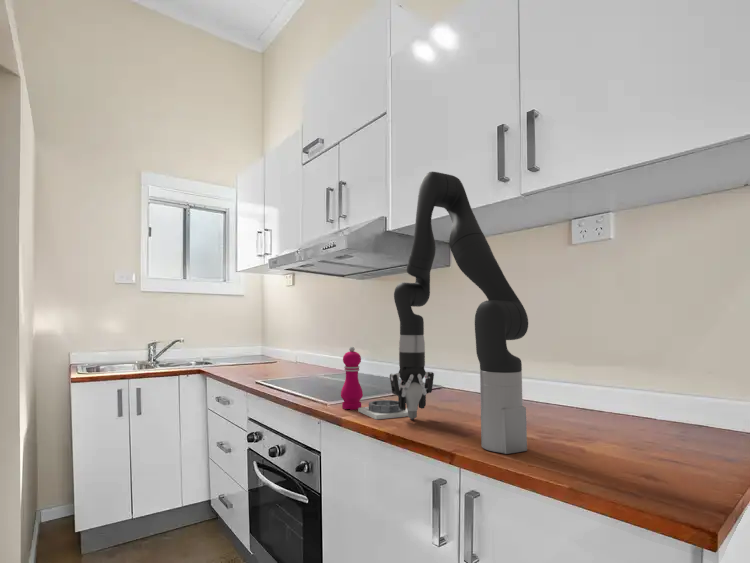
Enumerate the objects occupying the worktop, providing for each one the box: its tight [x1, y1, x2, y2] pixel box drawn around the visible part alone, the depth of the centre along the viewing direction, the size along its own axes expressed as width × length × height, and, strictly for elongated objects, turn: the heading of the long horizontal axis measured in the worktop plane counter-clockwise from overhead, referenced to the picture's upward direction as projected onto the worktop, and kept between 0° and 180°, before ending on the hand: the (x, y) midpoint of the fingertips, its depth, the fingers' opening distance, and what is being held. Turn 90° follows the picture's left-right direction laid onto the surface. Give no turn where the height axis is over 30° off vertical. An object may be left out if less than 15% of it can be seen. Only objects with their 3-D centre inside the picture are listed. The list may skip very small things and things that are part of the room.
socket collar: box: [368, 399, 403, 413], centre depth 143 cm, size 10×10×2 cm
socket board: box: [357, 406, 408, 420], centre depth 143 cm, size 13×13×1 cm
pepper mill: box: [340, 346, 364, 411], centre depth 153 cm, size 7×7×20 cm
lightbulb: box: [402, 382, 423, 420], centre depth 135 cm, size 6×6×11 cm
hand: (412, 408), depth 135 cm, fingers closed on lightbulb, 5 cm apart
